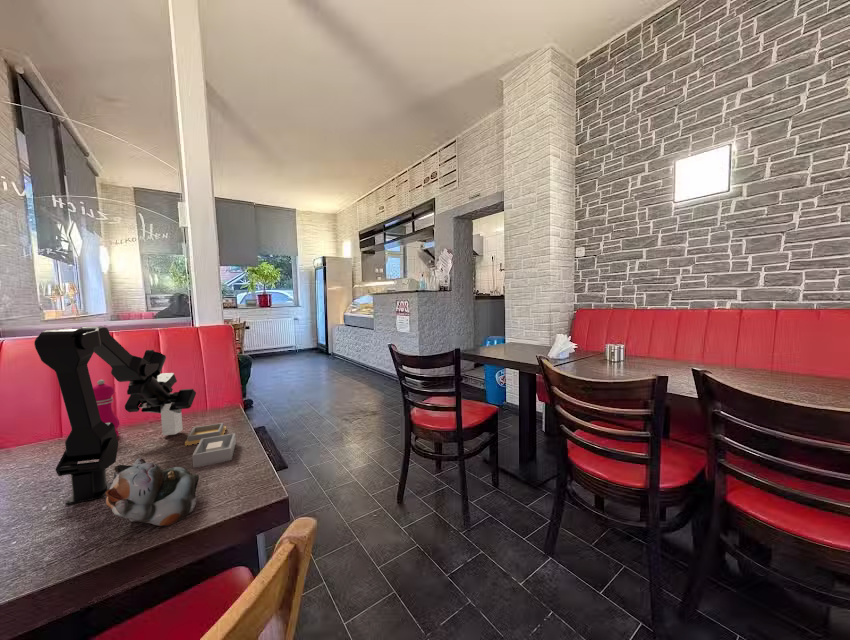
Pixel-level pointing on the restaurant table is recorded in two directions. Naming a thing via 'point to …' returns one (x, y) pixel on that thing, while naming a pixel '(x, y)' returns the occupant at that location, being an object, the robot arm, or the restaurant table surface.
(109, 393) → the pepper mill
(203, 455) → the light gray open tray
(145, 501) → the lucky cat figurine
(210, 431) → the square tray
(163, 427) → the grey rectangular block
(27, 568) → the restaurant table surface
